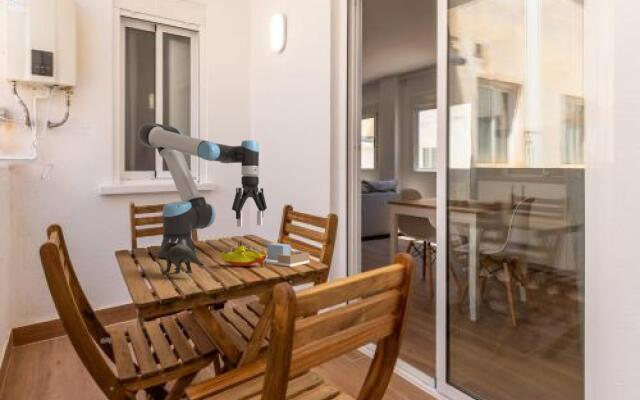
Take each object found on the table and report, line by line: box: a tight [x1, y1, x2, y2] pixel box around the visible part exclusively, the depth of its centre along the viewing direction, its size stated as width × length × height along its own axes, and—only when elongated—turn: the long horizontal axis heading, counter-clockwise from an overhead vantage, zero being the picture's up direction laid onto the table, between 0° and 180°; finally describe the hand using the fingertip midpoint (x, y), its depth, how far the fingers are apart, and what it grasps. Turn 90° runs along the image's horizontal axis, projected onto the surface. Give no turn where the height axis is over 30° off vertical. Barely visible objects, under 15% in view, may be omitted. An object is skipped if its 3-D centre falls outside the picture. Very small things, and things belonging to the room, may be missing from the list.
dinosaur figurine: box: [162, 238, 205, 275], centre depth 136 cm, size 22×8×11 cm, turn 48°
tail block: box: [266, 242, 292, 260], centre depth 158 cm, size 9×4×6 cm, turn 52°
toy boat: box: [220, 240, 267, 268], centre depth 148 cm, size 6×18×10 cm, turn 78°
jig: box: [228, 244, 310, 268], centre depth 162 cm, size 37×11×4 cm, turn 52°
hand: (249, 225), depth 169 cm, fingers open, 11 cm apart
